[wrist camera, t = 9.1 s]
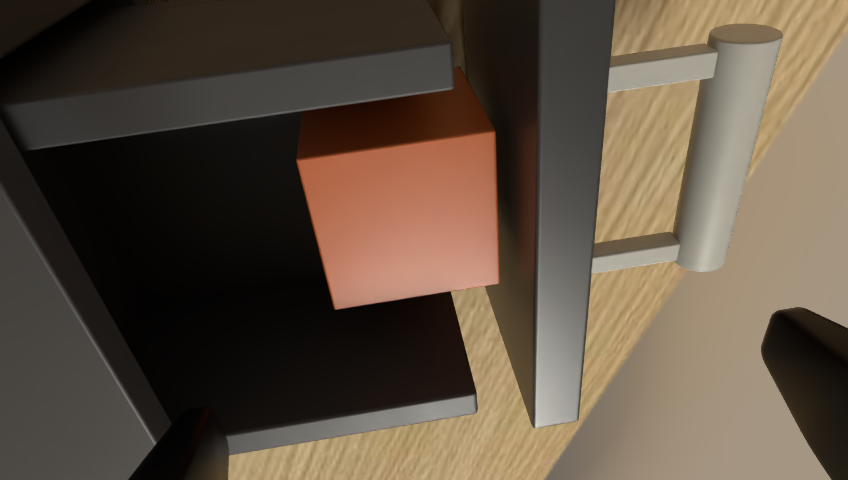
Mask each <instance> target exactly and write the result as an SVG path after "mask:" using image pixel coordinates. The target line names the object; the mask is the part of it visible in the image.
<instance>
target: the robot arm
mask: <svg viewBox="0 0 848 480" xmlns="http://www.w3.org/2000/svg"><path fill="white" fill-rule="evenodd" d="M761 353H762V357H763V360H764V363H765V364H766V366H767V368H768V370H769V372H770V374H771V376H772V378H773V380H774V381H775V383H776V385H777V387H778V389H779V391H780V392H781V395H782V396H783V398H784V400H785V402H786V404H787V406H788V408H789V410H790V411H791V413H792V415H793V417H794V419H795V421H796V423H797V424H798V426H799V428H800V430H801V432H802V434H803V436H804V437H805V439H806V441H807V443H808V444H809V446H810V448H811V449H812V451H813V452H814V454H815V455H816V457H817V459H818V460H819V462H820V463H821V465H822V466H823V468H824V469H825V471H826V472H827V474H828V475H829V476H830V478H831V479H832V480H848V328H846V327H844V326H842V325H840V324H837V323H835V322H833V321H831V320H829V319H827V318H825V317H822V316H820V315H818V314H816V313H814V312H812V311H810V310H808V309H805V308H800V307H796V308H790V309H784V310H778V311H776V312H775V313H774V314H773V315H772V316H771V318H770V321H769V325H768V327H767V330H766V333H765V337H764V339H763V342H762V346H761ZM228 466H229V446H228V441H227V438H226V435H225V433H224V431H223V429H222V427H221V425H220V423H219V421H218V419H217V417H216V415H215V413H214V411H213V410H212V409H211V408H210V407H200V408H194V409H188V410H185V411H183V412H182V413H180V414H179V415H178V416H177V418H176V419H175V420H174V422H173V423H172V424H171V425H170V427H169V428H168V429H167V430H166V432H165V433H164V434H163V436H162V437H161V438H160V439H159V441H158V442H157V443H156V444H155V446H154V447H153V448H152V450H151V451H150V452H149V453H148V455H147V456H146V457H145V458H144V460H143V461H142V462H141V464H140V465H139V466H138V467H137V469H136V470H135V471H134V472H133V474H132V475H131V476H130V478H129V479H128V480H228Z"/></svg>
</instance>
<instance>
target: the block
mask: <svg viewBox="0 0 848 480" xmlns="http://www.w3.org/2000/svg"><path fill="white" fill-rule="evenodd" d="M454 81H455V86H454V89H452V90H446V91H439V92H432V93H425V94H418V95H411V96H404V97H397V98H390V99H383V100H376V101H369V102H362V103H355V104H348V105H341V106H334V107H327V108H320V109H313V110H306V111H302V118H301V126H300V133H299V141H298V149H297V157H296V162H297V166H298V170H299V174H300V178H301V182H302V186H303V190H304V194H305V198H306V201H307V205H308V209H309V213H310V217H311V221H312V225H313V229H314V233H315V237H316V241H317V245H318V248H319V252H320V256H321V260H322V264H323V268H324V272H325V276H326V280H327V284H328V288H329V291H330V295H331V299H332V303H333V307H334V309H336V310H337V309H343V308H349V307H356V306H362V305H368V304H374V303H381V302H387V301H393V300H400V299H406V298H412V297H418V296H425V295H431V294H437V293H443V292H450V291H456V290H462V289H469V288H475V287H481V286H487V285H494V284H499V283H500V258H499V225H498V192H497V158H496V131H495V129H494V127H493V125H492V123H491V122H490V120H489V118H488V116H487V114H486V113H485V111H484V109H483V107H482V105H481V104H480V102H479V100H478V98H477V97H476V95H475V93H474V91H473V89H472V88H471V86H470V84H469V82H468V80H467V79H466V77H465V75H464V73H463V71H462V70H461V68H460V67H456V68H454Z"/></svg>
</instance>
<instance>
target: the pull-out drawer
mask: <svg viewBox="0 0 848 480" xmlns="http://www.w3.org/2000/svg"><path fill="white" fill-rule="evenodd" d="M615 1H616V0H463V10H464V28H465V45H466V62H467V80H468V82H469V84H470V86H471V88H472V89H473V91H474V93H475V95H476V97H477V98H478V100H479V102H480V104H481V105H482V107H483V109H484V111H485V113H486V114H487V116H488V118H489V120H490V122H491V123H492V125H493V127H494V129H495V131H496V158H497V192H498V225H499V258H500V283H499V284H494V285H487V286H485V288H486V291H487V294H488V296H489V299H490V302H491V305H492V308H493V311H494V314H495V317H496V320H497V323H498V326H499V329H500V332H501V335H502V338H503V341H504V344H505V347H506V350H507V353H508V356H509V359H510V362H511V365H512V368H513V371H514V374H515V377H516V380H517V383H518V386H519V389H520V392H521V395H522V397H523V400H524V403H525V406H526V409H527V412H528V415H529V418H530V421H531V424H532V426H533V427H534V428H540V427H546V426H552V425H558V424H563V423H569V422H575V421H578V419H579V409H580V398H581V386H582V375H583V364H584V352H585V341H586V330H587V319H588V307H589V296H590V285H591V274H594V273H600V272H606V271H612V270H619V269H625V268H631V267H638V266H644V265H650V264H656V263H663V262H669V261H674V262H675V263H676V264H678V265H679V266H681V267H683V268H685V269H688V270H692V271H699V272H708V271H713V270H716V269H718V268H720V267H721V266H722V265H723V264H724V263H725V259H726V256H727V251H728V248H729V243H730V240H731V236H732V232H733V228H734V224H735V221H736V216H737V213H738V209H739V205H740V201H741V197H742V193H743V189H744V185H745V182H746V178H747V174H748V170H749V166H750V162H751V158H752V154H753V150H754V146H755V143H756V139H757V135H758V131H759V127H760V123H761V119H762V115H763V111H764V107H765V104H766V100H767V96H768V92H769V88H770V84H771V80H772V76H773V72H774V68H775V65H776V61H777V57H778V53H779V49H780V45H781V41H782V37H783V35H782V32H781V31H779V30H777V29H775V28H772V27H769V26H764V25H758V24H730V25H724V26H720V27H717V28H714V29H712V30H711V31H710V33H709V37H708V42H707V45H706V44H697V45H690V46H683V47H675V48H668V49H661V50H654V51H647V52H640V53H633V54H626V55H619V56H612V57H611V47H612V35H613V24H614V13H615ZM700 79H701V80H700ZM693 80H700V86H699V91H698V97H697V102H696V108H695V113H694V118H693V124H692V129H691V135H690V140H689V146H688V151H687V157H686V162H685V168H684V173H683V179H682V184H681V189H680V195H679V200H678V206H677V211H676V217H675V222H674V228H673V233H671V232H664V233H658V234H652V235H645V236H639V237H633V238H626V239H620V240H613V241H607V242H601V243H594V239H595V228H596V217H597V205H598V194H599V183H600V171H601V160H602V149H603V137H604V126H605V115H606V103H607V93H610V92H617V91H624V90H631V89H638V88H645V87H652V86H658V85H665V84H672V83H679V82H686V81H693ZM454 86H455V81H454V67H453V53H452V43H451V41H450V39H449V38H448V36H447V34H446V32H445V31H444V29H443V27H442V26H441V24H440V22H439V20H438V19H437V17H436V15H435V13H434V12H433V10H432V8H431V7H430V5H429V3H428V1H427V0H171V1H164V2H156V3H149V4H141V5H134V6H126V7H119V8H111V9H104V10H96V11H89V12H81V13H74V14H70V15H69V16H67V17H66V18H64V19H62V20H61V21H59V22H58V23H56V24H55V25H53V26H51V27H50V28H48V29H47V30H45V31H44V32H42V33H40V34H39V35H37V36H36V37H34V38H32V39H31V40H29V41H28V42H26V43H25V44H23V45H21V46H20V47H18V48H17V49H15V50H14V51H12V52H10V53H9V54H7V55H6V56H4V57H3V58H1V59H0V119H1V120H2V122H3V124H4V126H5V128H6V129H7V131H8V133H9V135H10V136H11V138H12V140H13V142H14V144H15V145H16V147H17V149H18V151H19V152H20V154H21V156H22V158H23V160H24V161H25V163H26V165H27V167H28V168H29V170H30V172H31V174H32V176H33V177H34V179H35V181H36V183H37V184H38V186H39V188H40V190H41V192H42V193H43V195H44V197H45V199H46V200H47V202H48V204H49V206H50V208H51V209H52V211H53V213H54V215H55V217H56V218H57V220H58V222H59V224H60V225H61V227H62V229H63V231H64V233H65V234H66V236H67V238H68V240H69V241H70V243H71V245H72V247H73V249H74V250H75V252H76V254H77V256H78V257H79V259H80V261H81V263H82V265H83V266H84V268H85V270H86V272H87V273H88V275H89V277H90V279H91V281H92V282H93V284H94V286H95V288H96V289H97V291H98V293H99V295H100V297H101V298H102V300H103V302H104V304H105V306H106V307H107V309H108V311H109V313H110V314H111V316H112V318H113V320H114V322H115V323H116V325H117V327H118V329H119V330H120V332H121V334H122V336H123V338H124V339H125V341H126V343H127V345H128V346H129V348H130V350H131V352H132V354H133V355H134V357H135V359H136V361H137V362H138V364H139V366H140V368H141V370H142V371H143V373H144V375H145V377H146V378H147V380H148V382H149V384H150V386H151V387H152V389H153V391H154V393H155V395H156V396H157V398H158V400H159V402H160V403H161V405H162V407H163V409H164V411H165V412H166V414H167V416H168V418H169V419H170V421H171V423H173V422H174V420H175V419H176V418H177V416H178V415H179V414H180V413H182V412H183V411H185V410H188V409H194V408H200V407H210V408H211V409H212V410H213V411H214V413H215V415H216V417H217V419H218V421H219V423H220V425H221V427H222V429H223V431H224V433H225V435H226V438H227V441H228V446H229V455H234V454H240V453H246V452H252V451H258V450H263V449H269V448H275V447H281V446H287V445H293V444H299V443H305V442H311V441H317V440H322V439H328V438H334V437H340V436H346V435H352V434H358V433H364V432H370V431H376V430H381V429H387V428H393V427H399V426H405V425H411V424H417V423H423V422H429V421H435V420H441V419H446V418H452V417H458V416H464V415H470V414H475V413H477V410H478V407H477V393H476V389H475V385H474V381H473V377H472V373H471V369H470V365H469V361H468V358H467V354H466V350H465V346H464V342H463V338H462V334H461V330H460V326H459V322H458V318H457V314H456V311H455V307H454V303H453V299H452V295H451V291H450V292H443V293H437V294H431V295H425V296H418V297H412V298H406V299H400V300H393V301H387V302H381V303H374V304H368V305H362V306H356V307H349V308H343V309H337V310H336V309H334V307H333V303H332V299H331V295H330V291H329V288H328V284H327V280H326V276H325V272H324V268H323V264H322V260H321V256H320V252H319V248H318V245H317V241H316V237H315V233H314V229H313V225H312V221H311V217H310V213H309V209H308V205H307V201H306V198H305V194H304V190H303V186H302V182H301V178H300V174H299V170H298V166H297V162H296V157H297V149H298V141H299V133H300V126H301V118H302V111H306V110H313V109H320V108H327V107H334V106H341V105H348V104H355V103H362V102H369V101H376V100H383V99H390V98H397V97H404V96H411V95H418V94H425V93H432V92H439V91H446V90H452V89H454Z"/></svg>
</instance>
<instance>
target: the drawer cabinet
mask: <svg viewBox="0 0 848 480" xmlns="http://www.w3.org/2000/svg"><path fill="white" fill-rule="evenodd" d="M141 4H148V2H147V0H0V59H1V58H3V57H4V56H6V55H7V54H9V53H10V52H12V51H14V50H15V49H17V48H18V47H20V46H21V45H23V44H25V43H26V42H28V41H29V40H31V39H32V38H34V37H36V36H37V35H39V34H40V33H42V32H44V31H45V30H47V29H48V28H50V27H51V26H53V25H55V24H56V23H58V22H59V21H61V20H62V19H64V18H66V17H67V16H69V15H70V14H74V13H81V12H89V11H96V10H104V9H111V8H119V7H126V6H134V5H141ZM171 424H172V423H171V421H170V419H169V418H168V416H167V414H166V412H165V411H164V409H163V407H162V405H161V403H160V402H159V400H158V398H157V396H156V395H155V393H154V391H153V389H152V387H151V386H150V384H149V382H148V380H147V378H146V377H145V375H144V373H143V371H142V370H141V368H140V366H139V364H138V362H137V361H136V359H135V357H134V355H133V354H132V352H131V350H130V348H129V346H128V345H127V343H126V341H125V339H124V338H123V336H122V334H121V332H120V330H119V329H118V327H117V325H116V323H115V322H114V320H113V318H112V316H111V314H110V313H109V311H108V309H107V307H106V306H105V304H104V302H103V300H102V298H101V297H100V295H99V293H98V291H97V289H96V288H95V286H94V284H93V282H92V281H91V279H90V277H89V275H88V273H87V272H86V270H85V268H84V266H83V265H82V263H81V261H80V259H79V257H78V256H77V254H76V252H75V250H74V249H73V247H72V245H71V243H70V241H69V240H68V238H67V236H66V234H65V233H64V231H63V229H62V227H61V225H60V224H59V222H58V220H57V218H56V217H55V215H54V213H53V211H52V209H51V208H50V206H49V204H48V202H47V200H46V199H45V197H44V195H43V193H42V192H41V190H40V188H39V186H38V184H37V183H36V181H35V179H34V177H33V176H32V174H31V172H30V170H29V168H28V167H27V165H26V163H25V161H24V160H23V158H22V156H21V154H20V152H19V151H18V149H17V147H16V145H15V144H14V142H13V140H12V138H11V136H10V135H9V133H8V131H7V129H6V128H5V126H4V124H3V122H2V120H1V119H0V480H128V479H129V478H130V476H131V475H132V474H133V472H134V471H135V470H136V469H137V467H138V466H139V465H140V464H141V462H142V461H143V460H144V458H145V457H146V456H147V455H148V453H149V452H150V451H151V450H152V448H153V447H154V446H155V444H156V443H157V442H158V441H159V439H160V438H161V437H162V436H163V434H164V433H165V432H166V430H167V429H168V428H169V427H170V425H171Z"/></svg>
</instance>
